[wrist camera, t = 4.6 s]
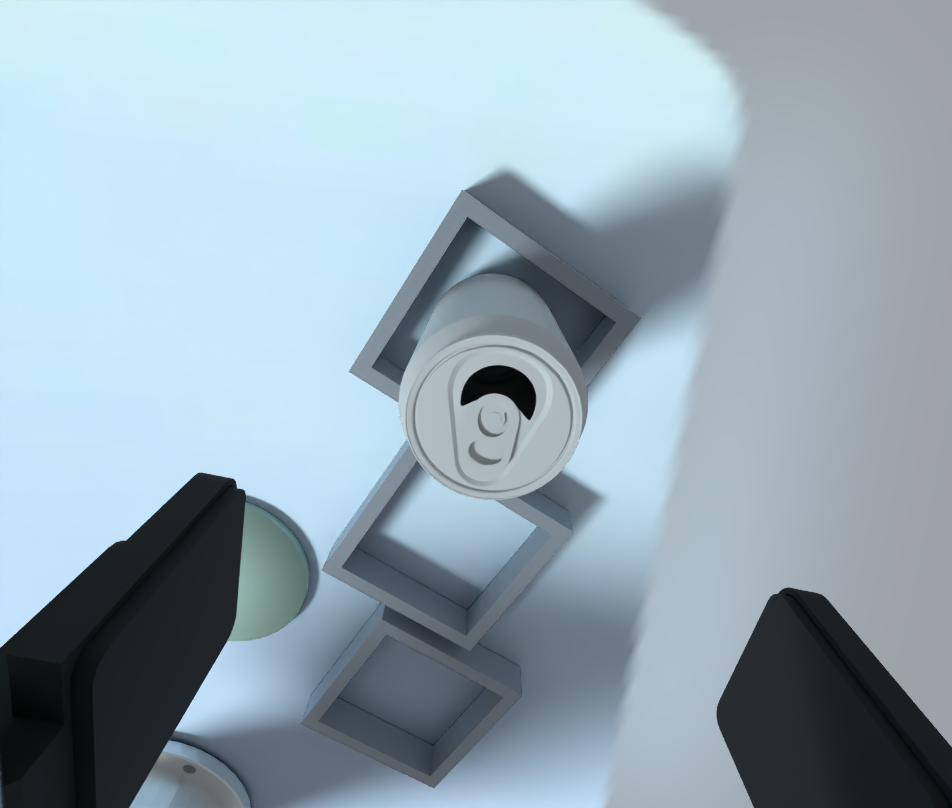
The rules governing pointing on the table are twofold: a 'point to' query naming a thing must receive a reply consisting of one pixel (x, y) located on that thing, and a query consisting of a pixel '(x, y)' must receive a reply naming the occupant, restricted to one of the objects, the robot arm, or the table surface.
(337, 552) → the tray
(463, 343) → the beverage can
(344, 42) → the table surface
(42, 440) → the table surface
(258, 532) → the coaster
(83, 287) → the table surface
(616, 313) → the tray
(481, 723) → the tray
